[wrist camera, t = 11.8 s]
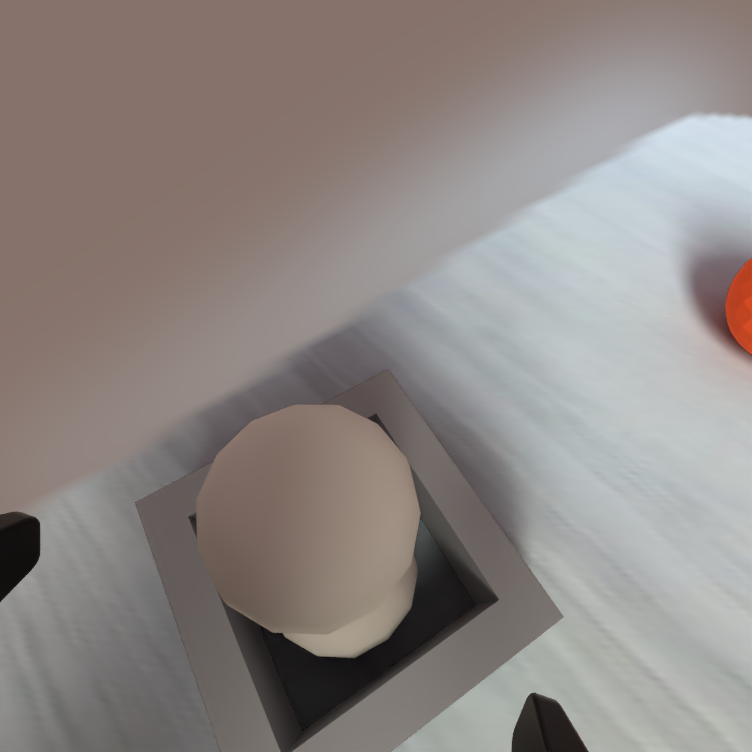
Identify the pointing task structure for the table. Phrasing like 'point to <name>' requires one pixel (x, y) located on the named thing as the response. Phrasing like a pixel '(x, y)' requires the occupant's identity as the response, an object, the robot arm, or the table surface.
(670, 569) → the table surface
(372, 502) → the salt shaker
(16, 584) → the robot arm
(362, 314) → the table surface
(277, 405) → the table surface
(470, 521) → the well block
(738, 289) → the clementine
